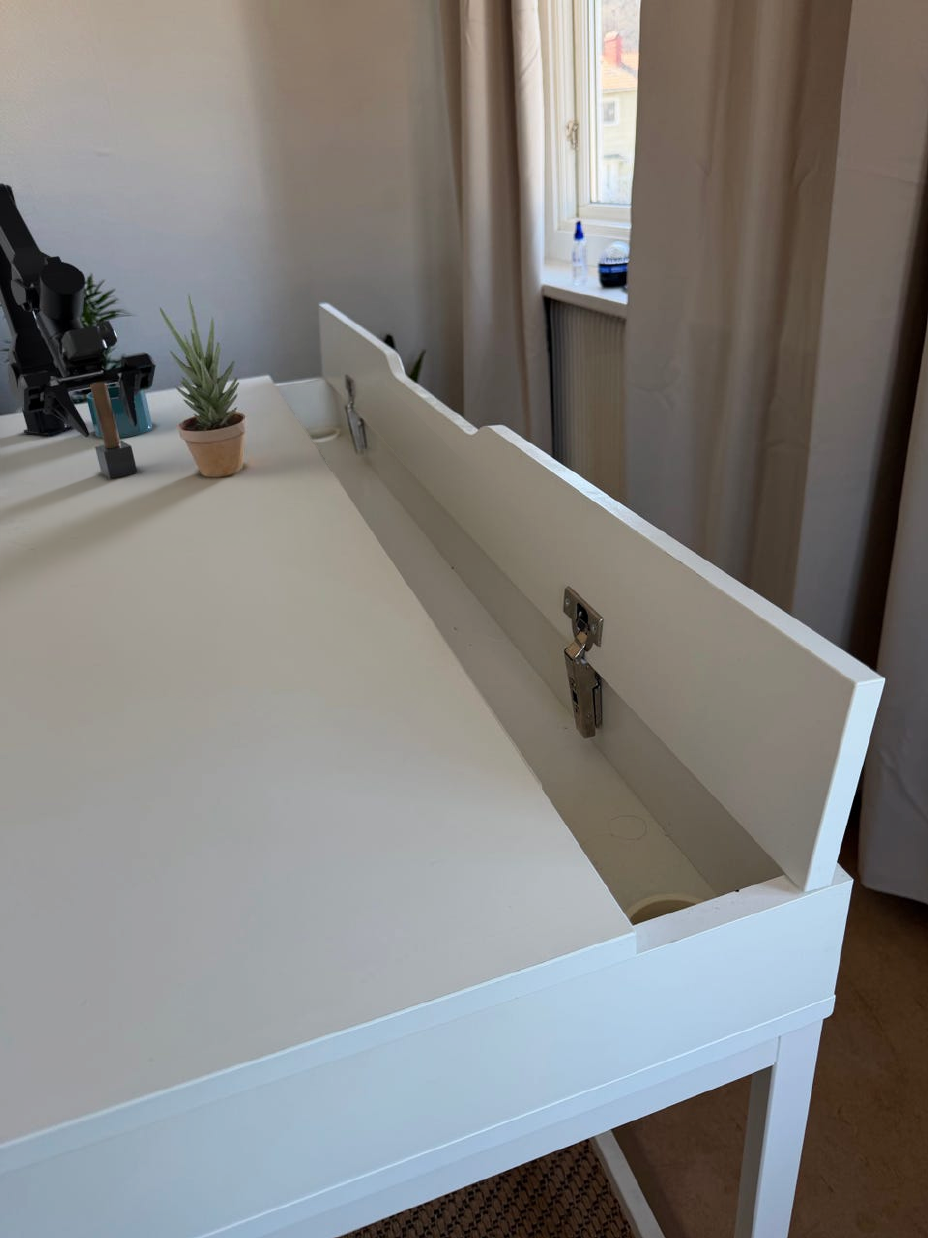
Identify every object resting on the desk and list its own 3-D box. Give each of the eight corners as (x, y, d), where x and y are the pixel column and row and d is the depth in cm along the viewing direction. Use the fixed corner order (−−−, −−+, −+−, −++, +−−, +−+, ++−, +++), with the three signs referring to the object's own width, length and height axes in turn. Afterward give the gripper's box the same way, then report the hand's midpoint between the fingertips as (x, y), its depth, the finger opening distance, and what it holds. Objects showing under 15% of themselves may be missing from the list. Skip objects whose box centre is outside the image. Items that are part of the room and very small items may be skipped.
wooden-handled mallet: (101, 472, 138) (79, 384, 132) (127, 466, 140) (107, 378, 134) (110, 479, 135) (88, 388, 130) (137, 472, 138) (117, 382, 132)
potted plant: (173, 478, 134) (135, 297, 122) (213, 458, 141) (180, 285, 130) (232, 483, 130) (198, 297, 119) (269, 462, 138) (241, 285, 126)
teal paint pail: (123, 421, 164) (114, 383, 161) (163, 424, 161) (155, 386, 158) (83, 436, 157) (74, 397, 154) (125, 440, 153) (116, 400, 150)
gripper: (-1, 314, 125) (46, 411, 122) (136, 294, 135) (182, 383, 132) (1, 366, 135) (44, 457, 132) (129, 344, 144) (171, 428, 141)
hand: (112, 430), depth 134 cm, fingers open, 7 cm apart
